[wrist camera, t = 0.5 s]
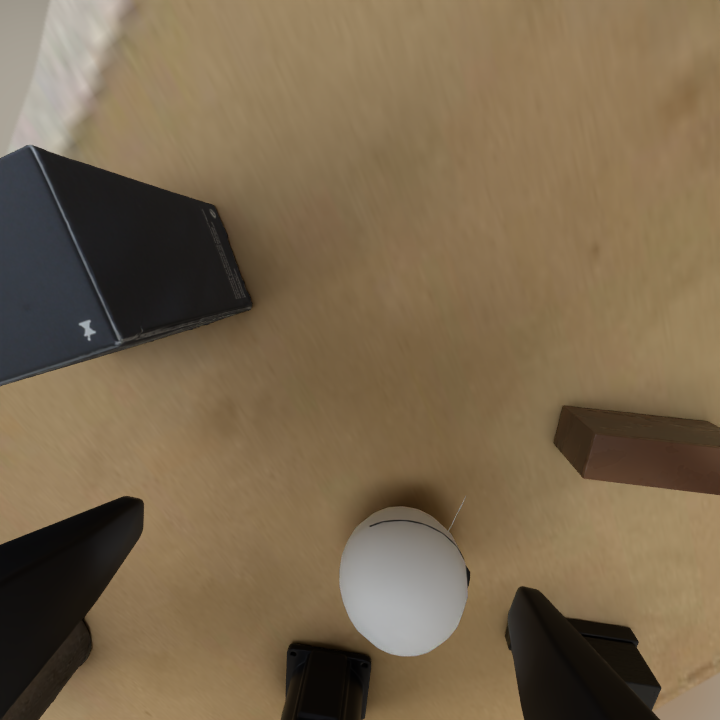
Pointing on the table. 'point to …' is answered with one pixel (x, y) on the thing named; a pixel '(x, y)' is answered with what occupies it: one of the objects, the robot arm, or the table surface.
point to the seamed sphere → (403, 581)
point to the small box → (102, 264)
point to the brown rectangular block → (641, 449)
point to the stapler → (618, 656)
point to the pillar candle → (52, 676)
